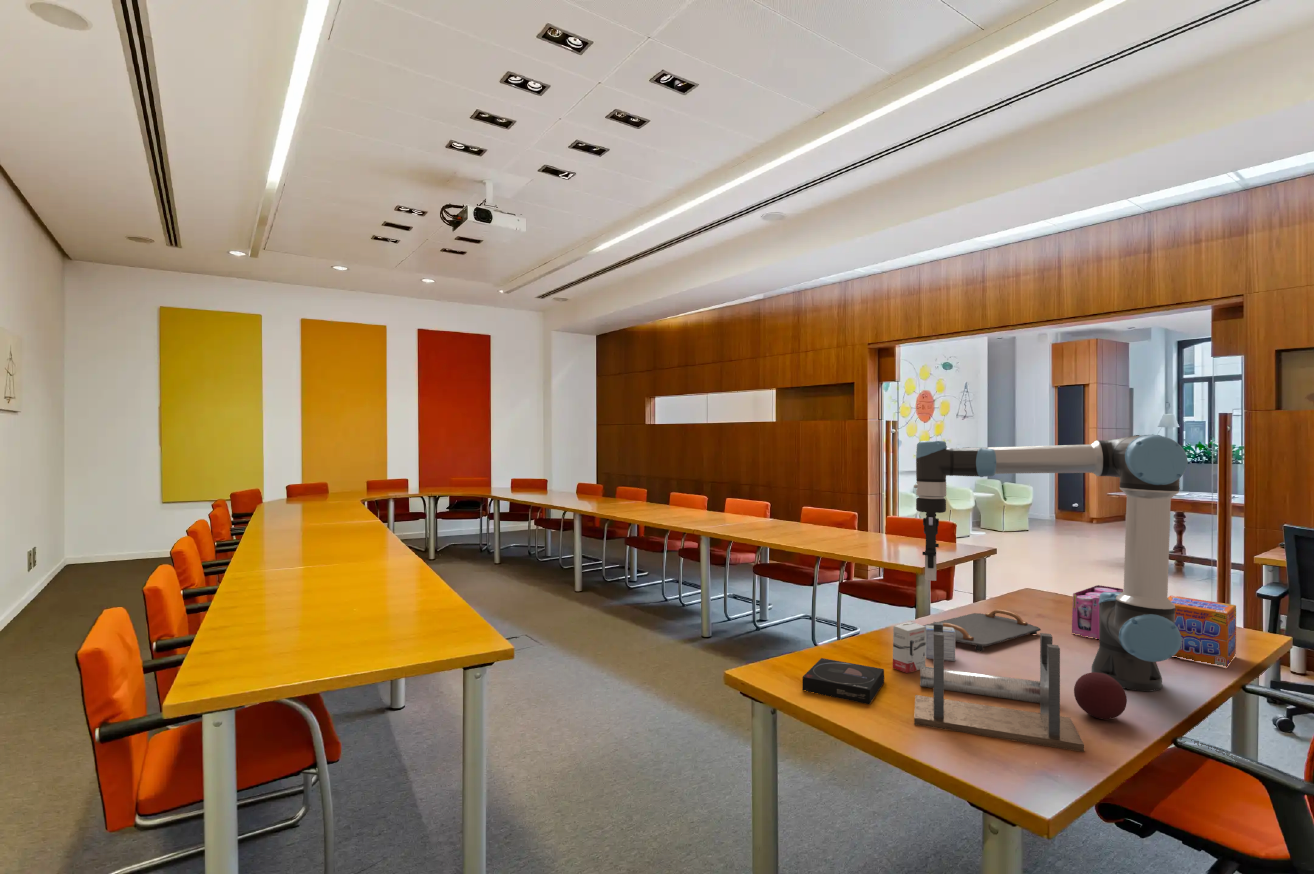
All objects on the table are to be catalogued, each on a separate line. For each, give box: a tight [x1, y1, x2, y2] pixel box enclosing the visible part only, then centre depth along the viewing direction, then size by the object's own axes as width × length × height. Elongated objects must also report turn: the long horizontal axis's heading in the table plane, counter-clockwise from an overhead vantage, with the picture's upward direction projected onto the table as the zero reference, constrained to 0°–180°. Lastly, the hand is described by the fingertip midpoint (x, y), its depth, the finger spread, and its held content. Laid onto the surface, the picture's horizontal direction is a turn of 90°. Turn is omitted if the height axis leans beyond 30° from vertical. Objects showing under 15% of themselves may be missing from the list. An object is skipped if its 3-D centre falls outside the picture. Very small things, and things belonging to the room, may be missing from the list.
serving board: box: [922, 609, 1042, 652], centre depth 210 cm, size 39×23×6 cm, turn 123°
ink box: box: [892, 621, 926, 674], centre depth 179 cm, size 8×5×12 cm, turn 123°
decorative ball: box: [1073, 672, 1128, 720], centre depth 147 cm, size 10×10×10 cm
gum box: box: [1071, 584, 1124, 639], centre depth 214 cm, size 24×8×14 cm, turn 127°
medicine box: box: [925, 624, 956, 662], centre depth 188 cm, size 8×4×9 cm, turn 71°
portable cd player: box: [801, 657, 885, 705], centre depth 165 cm, size 16×17×4 cm
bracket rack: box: [913, 621, 1085, 753], centre depth 143 cm, size 32×14×20 cm, turn 67°
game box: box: [1167, 595, 1237, 667], centre depth 190 cm, size 16×16×16 cm
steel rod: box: [919, 665, 1040, 704], centre depth 161 cm, size 30×5×5 cm, turn 67°
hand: (930, 575), depth 175 cm, fingers open, 13 cm apart
